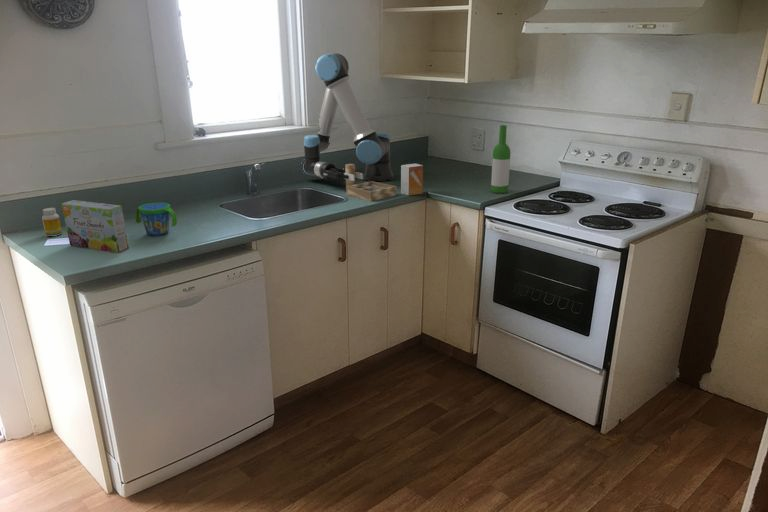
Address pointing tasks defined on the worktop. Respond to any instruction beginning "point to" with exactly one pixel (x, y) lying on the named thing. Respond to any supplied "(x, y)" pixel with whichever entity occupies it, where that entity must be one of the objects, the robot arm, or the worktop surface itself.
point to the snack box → (95, 225)
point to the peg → (351, 170)
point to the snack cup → (155, 217)
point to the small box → (411, 179)
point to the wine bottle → (501, 164)
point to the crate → (371, 191)
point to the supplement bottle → (51, 222)
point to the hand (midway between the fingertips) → (358, 177)
